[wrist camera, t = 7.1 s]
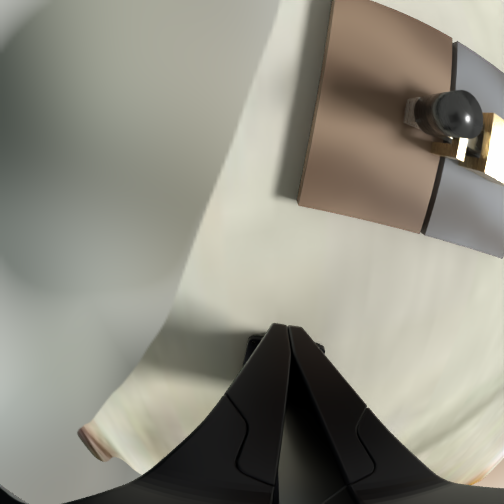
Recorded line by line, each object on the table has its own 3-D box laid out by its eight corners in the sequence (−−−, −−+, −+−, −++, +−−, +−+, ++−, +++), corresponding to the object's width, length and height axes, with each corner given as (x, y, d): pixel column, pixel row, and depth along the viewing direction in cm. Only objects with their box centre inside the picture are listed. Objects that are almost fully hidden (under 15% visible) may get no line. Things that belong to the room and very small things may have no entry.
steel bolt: (487, 168, 14) (535, 183, 9) (399, 127, 14) (445, 127, 9) (492, 138, 13) (541, 146, 8) (404, 92, 13) (450, 81, 8)
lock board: (493, 252, 18) (502, 258, 17) (296, 200, 18) (298, 205, 17) (523, 99, 13) (533, 99, 11) (332, -1, 12) (336, -10, 11)
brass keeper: (492, 182, 15) (518, 191, 12) (430, 153, 15) (456, 158, 12) (500, 134, 13) (527, 138, 10) (439, 98, 13) (465, 94, 10)
